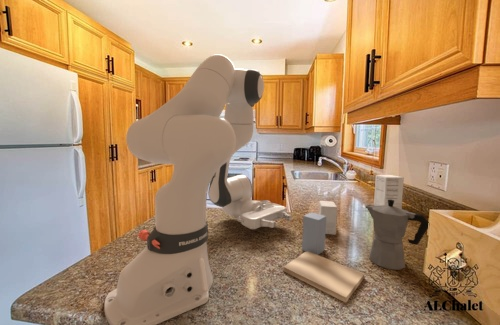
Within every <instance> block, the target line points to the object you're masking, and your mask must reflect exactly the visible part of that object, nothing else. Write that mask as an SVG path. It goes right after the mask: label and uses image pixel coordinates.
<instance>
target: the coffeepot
mask: <svg viewBox="0 0 500 325" xmlns="http://www.w3.org/2000/svg"><path fill="white" fill-rule="evenodd" d="M393 204H394V200H388V205H381V206H376V205H374V204H373V205H372V204H370V205H366V206H365V208H366V209H367V210H368V212H369V215H370V216H371V218H372V220H373V221H372V222H373V231H374V235H373V238H372V242H371V247H370V249H369V250H370V251H369V254H368V255H369V256H368V259H369V260H370V261H371V262H372V263H373V264H374V265H376V266H378V267H381V268H384V269H388V270H391V271H399V270H403V269H405V268H406V261H405V252H404V243H403V238H404V237H405V234H406V232H407V231H406V230H407V227H408V225H409V221H413V222H415V221H416V222H419V223H420V225H419V226H418V229H417V232H416V233H415V234H414V239H410V238H408V239H407V241H408V243H409V244H411V245H414V246H415V245H416V246H417V245H419V244H420V242H421V241H422V238H423V237H424V236H425V234H426V232H427V230H428V229H429V228H428V223H429V224H430V222H429V221H428V219H427V218H426V217H425V216H424V215H423V214H421V213H420V214H419V213H414V212H410V211H409V210H406V209H403V208H402V209H400V208H397V207H394V206H393Z"/></svg>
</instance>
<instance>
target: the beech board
mask: <svg viewBox="0 0 500 325" xmlns="http://www.w3.org/2000/svg"><path fill="white" fill-rule="evenodd" d="M282 271H283V272H284V273H286V274H288V275H290V276H292V277H294V278H295V279H297V280H300V281H303V282H304V283H306V284H308V285H310V286H311V287H314V288H316V289H318V290H320V291H322V292H324V293H325V294H327V295H329V296H331V297H334V298H336V299H337V300H340V301H342V302H343V303H347V302H348V300H350V298H351V296H352V295H353V294H354V293H355V291H356V290H357V288H358V287H359V286H360V284H361V283H362V282H363V280H364V279H365V273H364V272H363V271H359V270H356V269H355V268H352V267H349V266H347V265H344V264H341V263H339V262H336V261H334V260H331V259H328V258H326V257H324V256H322V255H320V254H319V255H316V254H314V253H311V252H309V251H304V252H303V253H301V254H300V255H298V256H297V257H296V258H294V259H292V260H291V261H290V262H288V263H286V265H284V266H283V270H282Z"/></svg>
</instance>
